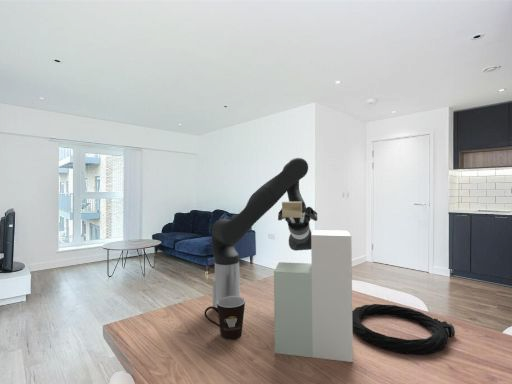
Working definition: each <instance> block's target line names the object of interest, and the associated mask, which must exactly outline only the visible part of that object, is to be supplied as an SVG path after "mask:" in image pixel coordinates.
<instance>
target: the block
mask: <svg viewBox="0 0 512 384" xmlns="http://www.w3.org/2000/svg"><path fill="white" fill-rule="evenodd" d="M281 206H282V207H281V209H282V217H295V218H301V217H302V202H289V201H282V202H281Z"/></svg>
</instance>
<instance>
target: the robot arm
mask: <svg viewBox="0 0 512 384" xmlns="http://www.w3.org/2000/svg"><path fill="white" fill-rule="evenodd" d="M308 170H309V163H308V162H307V160H306V159H304V158H302V157H296V158H293V159H290V160H289V161H288V162H287V163H286V164H285V165H284V166H283V168H282V171H280V172H279V173H278V174H277V175H275V176H273V177H272V178H270V179H269V180H268V181H266V182H265V183H263V185H261V186H260V187H258V189H256V191H254V192H253V193H252V194H251V195H250V197H249V199H248V200H247V203H246V205H245V207H244V208H243V209H242V210H241V211H239V213H238V214H236V215H235V216H234V217H232V218H230V219H227V218H221V219H218V220H216V221H215V223H213V226H212V229H211V247H212V255H213V258H214V281H213V283H212V306H213V307H216V308H217V301H218V300H219V299H221V298H224V297H230V296H236V297H241V296H240V290H241V288H240V256H239V255H240V254H239V253H238V251H237V250H236V248H235V245H236V244H238V243H239V242H240V241H241V240H242V239H243V238H244V236H246V234H247V233H248V232H249V231H250V229H251V228H252V227H253V226H254V225H255V224H256V223H257V222H258V221H259V220H260V219H261V218H262V217H263V216H264V215H265V214H266V213H267V212H269V211H270V210H271V208H273V207H275V205H276V204H277V203H278V201H280V199H281V198H282V197H283V196H284V195H285V194H287V197H288V202H302V217H301V218H295V217H282V208H281V209H280V210H279V212H278V213H277V214H278V215H277V217H278V218H277V221H282V220H284V221H285V222H287V225H288V230H289V233H290V234H289V236H288V246H289V248H290V249H291V250H293V251H295V252H297V251H307V250H311V234H312V229H311V227H310V221H311V220H313V221H314V222H316V221H318V212H316V211H315V210H314V209H313V208H312V207H311V206H306V203H305V200H304V199H303V197H302V194H301V191H300V180H302V179H303V178H304V177H305V176H306V175H307V173H308Z"/></svg>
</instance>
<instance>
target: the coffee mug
mask: <svg viewBox="0 0 512 384" xmlns="http://www.w3.org/2000/svg"><path fill="white" fill-rule="evenodd" d="M245 304H246V299H244V298H243V297H241V296H240V297H236V296H230V297H224V298H221V299H219V300H218V301H217V308H216V307H213V305H211V306H209V307H207V308H205V310H204V317H205V318H206V320H208V321H209V322H210V323H212V324H214V325H216V327H218V328H219V330H220V336H221V338H222V339H224V340H228V341H229V340H231V341H233V340H236V339H239V338H240V337H241V336H242V335H243V334H242V333H243V327H244V326H243V325H244V314H245V307H246V305H245ZM210 309H211V310H212V309H213V310H215V312H216V313H217V315H218V322H216V321H214V320H213V319H211V318H210V317H209V316H208V315H207V312H208V310H210Z"/></svg>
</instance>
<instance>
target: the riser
mask: <svg viewBox="0 0 512 384" xmlns="http://www.w3.org/2000/svg"><path fill="white" fill-rule="evenodd" d="M311 233H312V234H311V249H310V250H311V263H304V262H285V261H284V262H281V261H280V262H278V263H277V265H276V267H275V268H274V271H273V295H274V296H273V298H274V299H273V302H274V303H273V304H274V306H273V307H274V308H273V309H274V310H273V311H274V317H273V318H274V354H279V355H280V354H281V355H287V356H288V355H290V356H296V357H297V356H298V357H306V358H314V359H321V360H331V361H340V362H349V363H350V362H351V363H353V362H354V356H353V355H354V353H353V352H354V351H353V349H354V347H353V345H354V344H353V342H354V341H353V340H354V339H353V335H354V334H353V332H354V331H353V329H352V311H353V261H352V259H353V257H352V255H353V254H352V249H353V248H352V235H351V234H350V233H349V231H348V230H333V229H332V230H329V229H328V230H327V229H326V230H325V229H324V230H323V229H311Z"/></svg>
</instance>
